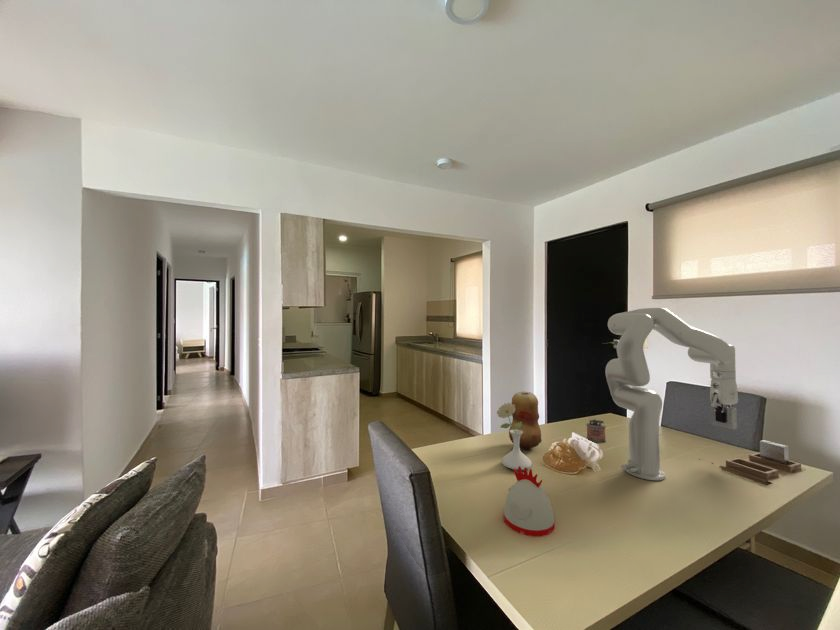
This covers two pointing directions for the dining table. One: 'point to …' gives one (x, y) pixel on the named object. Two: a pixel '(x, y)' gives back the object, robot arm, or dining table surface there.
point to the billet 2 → (774, 452)
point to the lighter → (596, 430)
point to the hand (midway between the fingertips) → (723, 420)
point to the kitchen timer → (528, 506)
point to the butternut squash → (526, 419)
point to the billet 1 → (730, 418)
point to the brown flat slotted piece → (760, 468)
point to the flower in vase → (515, 456)
